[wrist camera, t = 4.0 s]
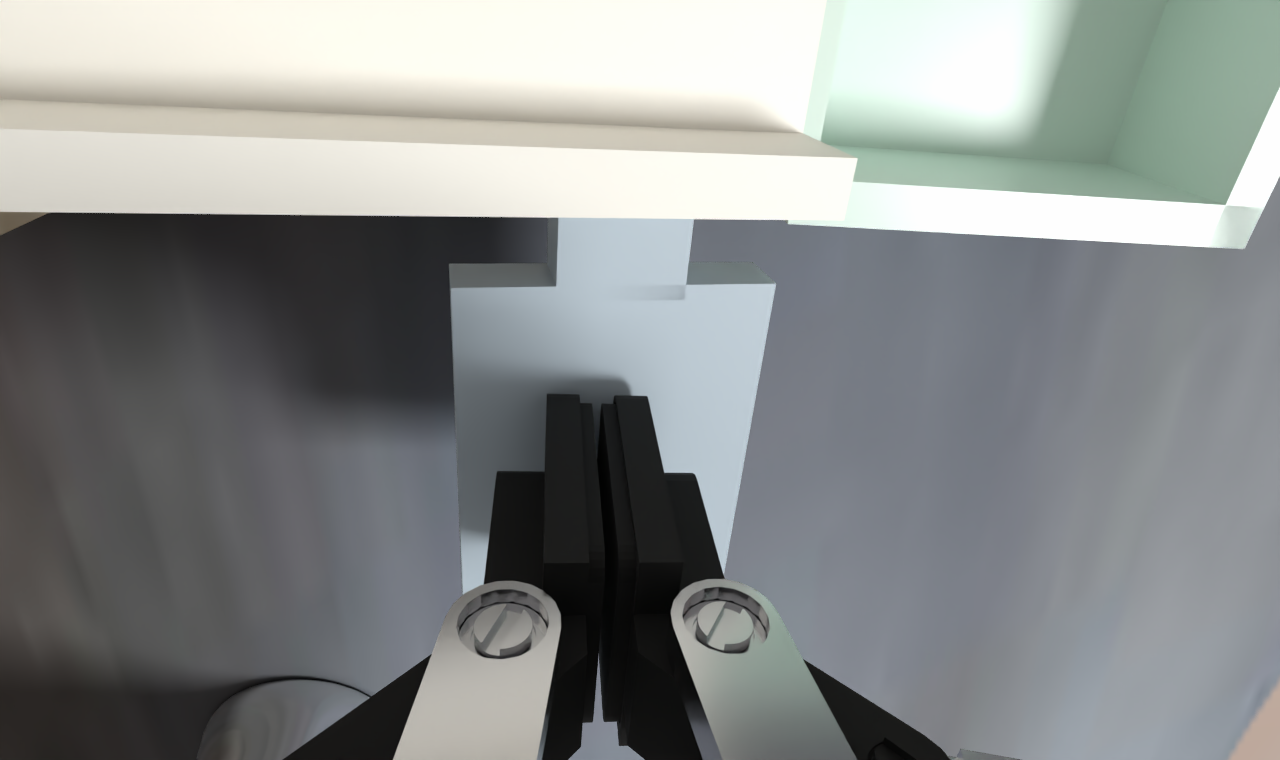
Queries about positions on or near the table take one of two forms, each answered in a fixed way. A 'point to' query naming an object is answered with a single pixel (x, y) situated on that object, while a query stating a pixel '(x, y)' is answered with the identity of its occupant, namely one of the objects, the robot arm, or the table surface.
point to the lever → (468, 178)
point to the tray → (1053, 116)
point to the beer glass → (275, 719)
